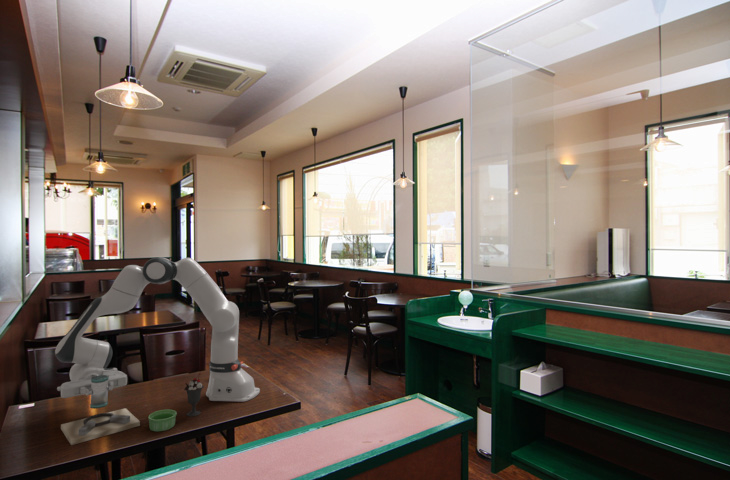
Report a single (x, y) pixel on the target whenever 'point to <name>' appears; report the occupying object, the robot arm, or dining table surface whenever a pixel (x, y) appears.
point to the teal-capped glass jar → (99, 391)
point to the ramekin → (162, 420)
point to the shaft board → (99, 426)
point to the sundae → (194, 395)
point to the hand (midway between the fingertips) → (100, 390)
